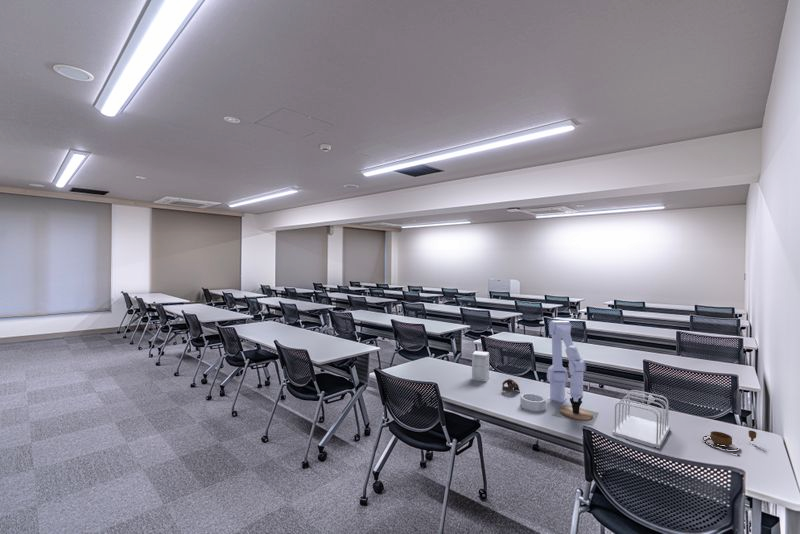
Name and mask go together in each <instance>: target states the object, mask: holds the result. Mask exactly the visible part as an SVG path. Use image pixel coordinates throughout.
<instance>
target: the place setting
mask: <svg viewBox="0 0 800 534" xmlns="http://www.w3.org/2000/svg"><path fill="white" fill-rule="evenodd" d="M707 436H708V435H704V436H703V437H702V441H703V440H704V437H707ZM709 436H710V437H711V439H710V440H711V442H712V443H711V442H708V441H707V440H704V441H705V442H707V443H708V444H711V445H713V446H717V447H719V446H718V445H716V444H719V445H725V446H727V447H730V446H732V441H733V436H731V435H730V434H728V433H725V432H722V431H716V430H714V431H711V432H710V434H709ZM748 437H749V438H750V441H754V440H756V438H757V432H756V431H755V430H751V429H749V430H748ZM704 441H703V442H704ZM705 442H704V443H705ZM713 443H714V444H715V443H716V444H715V445H714V444H713ZM729 445H730V446H729Z"/></svg>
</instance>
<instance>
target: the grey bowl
mask: <svg viewBox="0 0 800 534" xmlns="http://www.w3.org/2000/svg"><path fill="white" fill-rule="evenodd" d="M546 403H547V399H546V397H544V396H543V395H541V394H537V393H536V394H535V393H529V392H528V393H522V394H521V395H520V407H521V409H524V410H526V411H531V412H542V411H545V410H546V408H547V407H546Z"/></svg>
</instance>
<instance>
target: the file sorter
mask: <svg viewBox="0 0 800 534" xmlns="http://www.w3.org/2000/svg"><path fill="white" fill-rule="evenodd" d="M636 392H637V393H636ZM633 395H636V396H640V397H644V398H648V399H652V400H648V399H644V398H640V397H636V396H633ZM648 395H650V396H648ZM658 397H659V398H658ZM631 398H632V400H631ZM661 398H662V399H661ZM633 399H635V400H639V401H644V402H647V403H652V404H655V405H657V406H660V407H661V408H662V411H661V409H660V408H658V407H657V406H654V405H650V404H646V403H643V402H639V401H635V400H633ZM663 399H664V400H663ZM653 400H656V401H653ZM657 401H660V402H662V403H663V404H664V405H665V407H664V406H663V405H662V404H661V403H658V402H657ZM630 402H631V403H630ZM632 403H635V404H638V405H642V406H638V405H635V404H632ZM621 404H622V405H621ZM621 406H622V407H621ZM643 406H646V407H643ZM630 407H634V408H638V409H641V410H645V411H650V412H653V413H654V414H655V416H656V421H654V420H653V421H652V420H649V419H645V418H642V417H637V416H634V415H630ZM647 407H650V409H649V408H647ZM617 408H618V423H617ZM652 408H654V409H656V410H658V412H659V415H658V413H657V412H656V411H655V410H653V409H652ZM621 409H622V410H621ZM624 409H625V410H624ZM624 411H625V412H624ZM670 430H671V426H670V425H669V400H668V398H666V397H665V396H664V395H660V394H656V393H655V394H654V393H651V392H646V391H642V390H638V389H637V390H636V389H631V390H630V391H629V392H628V393H627V394H626V395H625V396H623V398H622V399H620V400H619V402H616V403H615V405H614V429H613V430H612V431H611V432H612V435H614V436H617V437H620V438H624V439H625V440H627V439H628V441H631V442H634V443H637V444H640V445H641V444H642V445H645V446H648V447H651V448H654V447H656V448H655V449H657V448H659V449H660V448H661V447H662V445H663V443H664V442H665V440H666V437H667V436H668V434H669V432H671V431H670ZM660 446H661V447H660Z"/></svg>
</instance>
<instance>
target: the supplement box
mask: <svg viewBox="0 0 800 534" xmlns="http://www.w3.org/2000/svg"><path fill="white" fill-rule="evenodd" d="M471 355H472V356H471V380H472V381H477V382H479V381H480V382H487V381H488V380H489V378H490V352H489V351H479V350H475V351H474V352H473V353H472V354H471Z"/></svg>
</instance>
